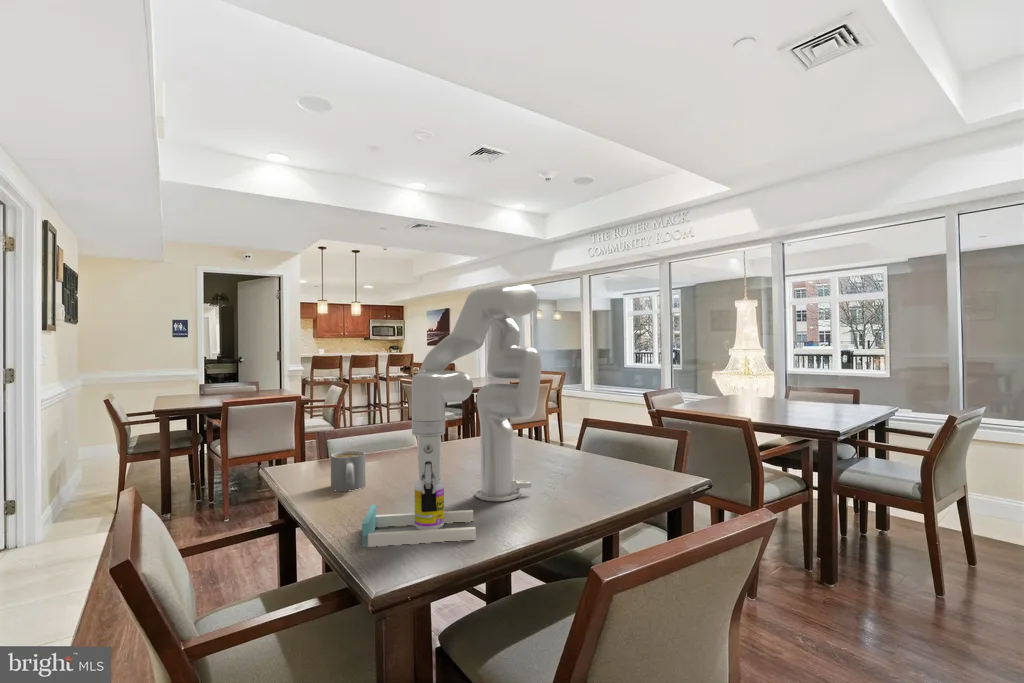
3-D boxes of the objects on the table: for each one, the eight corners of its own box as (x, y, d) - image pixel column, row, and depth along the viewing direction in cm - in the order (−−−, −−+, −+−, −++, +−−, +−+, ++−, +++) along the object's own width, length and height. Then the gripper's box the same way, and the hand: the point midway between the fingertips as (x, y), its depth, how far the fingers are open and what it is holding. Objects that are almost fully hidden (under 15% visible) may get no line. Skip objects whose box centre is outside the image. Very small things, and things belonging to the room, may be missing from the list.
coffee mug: (334, 483, 151) (334, 451, 151) (367, 481, 153) (367, 449, 153) (325, 496, 138) (325, 461, 138) (361, 494, 140) (361, 459, 140)
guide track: (472, 520, 118) (472, 499, 118) (475, 540, 105) (475, 517, 105) (371, 526, 114) (371, 504, 114) (362, 547, 102) (362, 523, 102)
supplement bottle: (438, 532, 106) (437, 474, 106) (410, 530, 107) (409, 472, 108) (448, 521, 113) (447, 466, 113) (421, 520, 114) (420, 465, 114)
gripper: (445, 433, 102) (446, 518, 102) (445, 421, 119) (445, 493, 119) (409, 434, 101) (410, 520, 101) (414, 422, 118) (414, 495, 118)
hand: (429, 505), depth 110 cm, fingers closed on supplement bottle, 6 cm apart
